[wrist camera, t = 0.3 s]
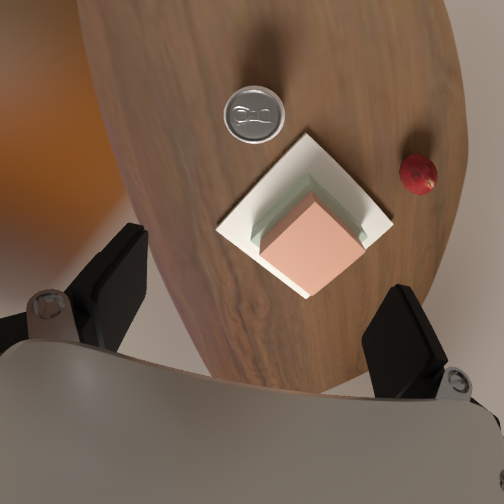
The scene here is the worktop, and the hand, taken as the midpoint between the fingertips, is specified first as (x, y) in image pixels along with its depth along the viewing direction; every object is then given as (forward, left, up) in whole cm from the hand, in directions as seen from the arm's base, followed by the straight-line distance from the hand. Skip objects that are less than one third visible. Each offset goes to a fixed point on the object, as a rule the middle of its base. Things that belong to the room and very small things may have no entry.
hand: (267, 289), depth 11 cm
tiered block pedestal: (+13, -6, -34) cm, 37 cm away
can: (-4, +2, -34) cm, 34 cm away
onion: (+18, +12, -34) cm, 40 cm away
